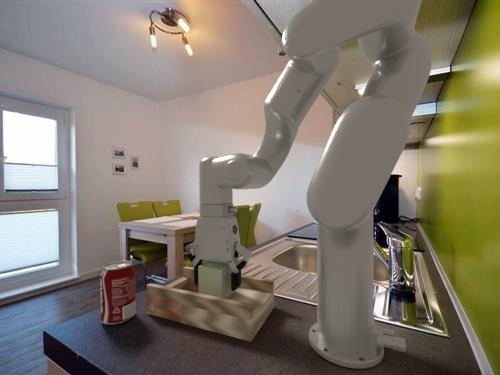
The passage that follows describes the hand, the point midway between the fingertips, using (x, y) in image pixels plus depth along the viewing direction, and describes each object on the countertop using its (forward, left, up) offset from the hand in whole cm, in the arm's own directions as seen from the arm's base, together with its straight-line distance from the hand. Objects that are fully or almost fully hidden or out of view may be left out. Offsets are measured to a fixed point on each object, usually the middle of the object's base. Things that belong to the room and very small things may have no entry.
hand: (217, 285), depth 56 cm
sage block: (0, 0, -2) cm, 2 cm away
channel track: (+1, 0, -6) cm, 6 cm away
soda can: (+18, +11, -6) cm, 22 cm away
